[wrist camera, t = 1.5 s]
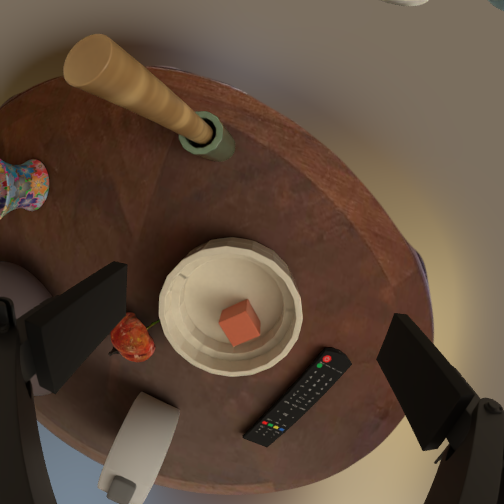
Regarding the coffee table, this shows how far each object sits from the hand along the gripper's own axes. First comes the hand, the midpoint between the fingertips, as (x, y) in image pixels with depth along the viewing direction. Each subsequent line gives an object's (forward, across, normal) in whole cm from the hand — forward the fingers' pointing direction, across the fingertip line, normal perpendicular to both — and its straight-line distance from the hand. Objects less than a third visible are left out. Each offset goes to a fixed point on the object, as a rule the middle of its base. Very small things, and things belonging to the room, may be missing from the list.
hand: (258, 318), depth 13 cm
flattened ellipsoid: (+26, -38, -23) cm, 52 cm away
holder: (+26, -7, +9) cm, 29 cm away
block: (+25, -1, -13) cm, 28 cm away
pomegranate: (+26, -15, -18) cm, 35 cm away
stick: (+26, -7, +9) cm, 28 cm away
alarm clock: (+26, -14, -40) cm, 50 cm away
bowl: (+26, -2, -11) cm, 28 cm away
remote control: (+26, +11, -28) cm, 39 cm away
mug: (+26, -39, +1) cm, 47 cm away
